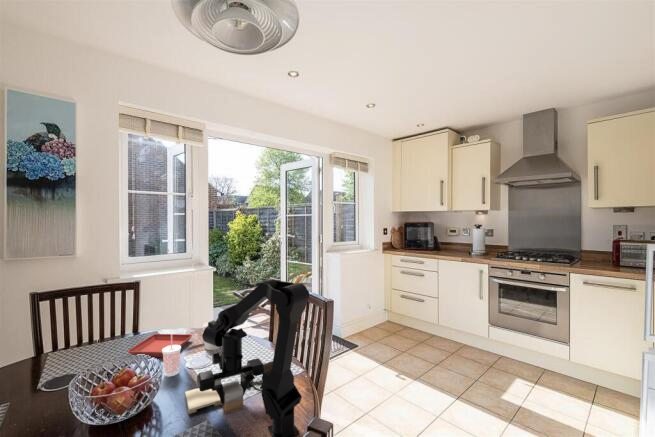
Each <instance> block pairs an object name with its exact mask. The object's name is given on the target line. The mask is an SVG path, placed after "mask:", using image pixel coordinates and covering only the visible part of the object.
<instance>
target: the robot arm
mask: <svg viewBox="0 0 655 437" xmlns="http://www.w3.org/2000/svg"><path fill="white" fill-rule="evenodd" d="M266 300H268V301H269V303H271V304H274V305H275V310H276V312H277V315H278V318H279V321H278V327H277V333H276V341H275V345H274V353H273V359H272V361H273V365H272V369H270V370H269V371H267V372H265V366H264V364H265V363H263V362H262V360H261V359H260V358H258V357H257V358H254V359H249V360H246V361H247V362H246V364H244V365H243V357H244V356H243V350H242V349H243V338H246V337H247V336H248V334H247V332H246V331H245V330H243V328H241V327H240V328H238V329H237V327H239V326H242V325H244V324H245V323H246V321H247V320H248V319H249V317H250V314H251V312H253V311H254V310H255V309H256V308H257V307H259V306H260V305H261V304H263V303H264V302H265V301H266ZM309 300H310V290H308V288H307V286H305V284H303V283H301V282H297V283H294V282H291V281H290V282H288V281H284V280H282V281H281V280H278V279H274V278H270V279H266V280H262V281H260V282H259V283H258V285H257V286H255V288H253V290H251V291H249V293H248V294H247V295H245V296H244V297H243V298H242V299H241V300H240V301H238V302H237V303H236V304H234V305H231V306H229V307H227V308H225V309H222V310H221V311H219V313H218V314H217V319H216V320H211V321H210V320H209V321H207V322H208V326H207V327H206V328H205V330H204V329H203V333H202V335H201V337H202V340H203V342H204V343H205V342H206V343H209V344H212V345H214V346H217V347H220V348H221V354H220V352H214V353H212V354H211V355H212V357H211V358H212V359H211V360H212V361H211V363H212V364H213V365H218V366H219V370H220V371H221V372H217V373H214V372H213V371H212V369H209V370H206V371H202V372H199V373H198V374H197V376H196V383H197V386H198V388H199V390H200V391H206V390H209V389H212V391H215V390H216V391H217V393H218V395H219V398H220V400H221V403H222V404H221V406H222V405H224V393H223V386H222V380H225V379H228V378H229V379H230V378H232V377H233V378H234V377H235V376H236V377H237V376H239V375H240V376H239V377H240V381H239V383H240V385H241V387H242V389H243V397H244V396H245V393H246V392H247V389H248V387H249V386H250V385H251V383H252V382H251V380H253V381H254V380H255V378H256V377H258V376H259V377H260V376H262V377H261V382H262V384H261V385H260V386H259V389H260V390H261V398H262V402H263V408H264V411H265V414H266V415H267V416H269V419H270V420H272V424H271V425H268V427H267V430H268V432H269V434H270V435H271V437H296V436H299V435H300V430H299V429H298V427H297V426H296V425H295V408H296V406H297V405H299V404H300V403H301V400H302V398H303V396H302V395H301V393H300V392H299V389H298V388H297V387H296V385H295V376H294V374H293V372H292V370H291V366H292V363H293V355H294V348H295V343H296V338H297V332H298V326H299V320H300V318H301V316H302V315H303V313H304V311H305V310H306V308H307V306H308V305H307V304H308V301H309ZM249 384H250V385H249Z"/></svg>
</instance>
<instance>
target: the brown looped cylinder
mask: <svg viewBox="0 0 655 437" xmlns="http://www.w3.org/2000/svg"><path fill="white" fill-rule="evenodd" d="M263 364H264V366H265V372H267V371H269V370H270V369H272V365H273V360H272V361H269V362H265V363H263ZM251 383H252V385H254V386H259V387H260V386H261V384H262V381H260V382H256V381H254V379H253V380H251V382H250V384H249V386H250V385H251Z"/></svg>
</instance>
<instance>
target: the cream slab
mask: <svg viewBox="0 0 655 437" xmlns="http://www.w3.org/2000/svg"><path fill="white" fill-rule="evenodd" d="M184 395H185V402H186V406H187V412H188V414H189V415H190V414H193V413H196V412H197V411H198V409H202V408H205V407H209V406H211V405H213V406H214V407H216V406H219V405H222V404H221V400H220V398H219V395H218V393H217V391H216V390H215V391H212V389H209V390H206V391H200V390H199V387H198V388H193V389H190V390H186V391H184Z"/></svg>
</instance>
